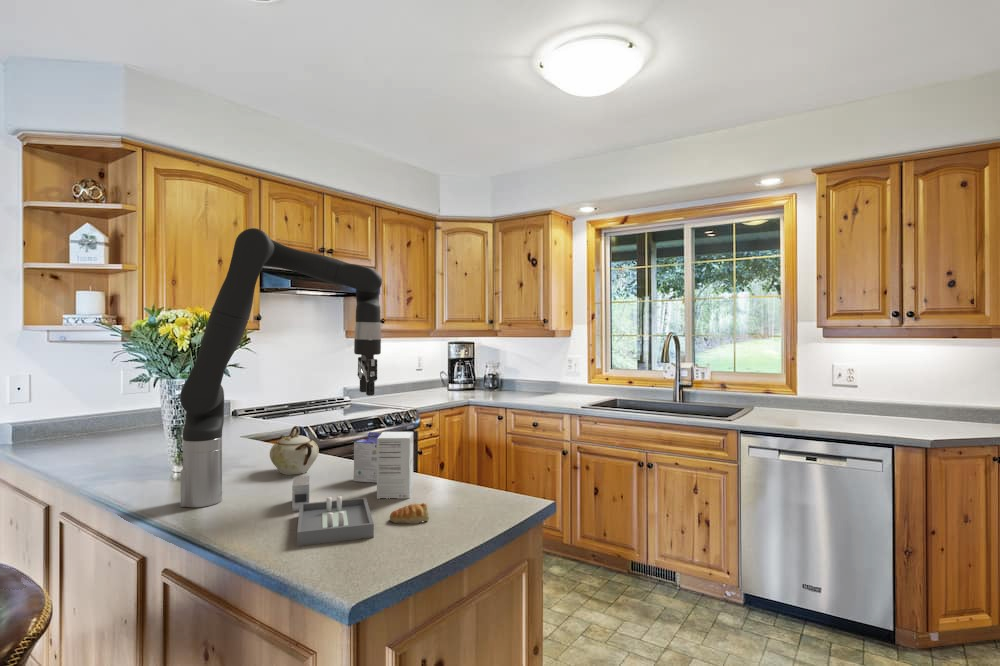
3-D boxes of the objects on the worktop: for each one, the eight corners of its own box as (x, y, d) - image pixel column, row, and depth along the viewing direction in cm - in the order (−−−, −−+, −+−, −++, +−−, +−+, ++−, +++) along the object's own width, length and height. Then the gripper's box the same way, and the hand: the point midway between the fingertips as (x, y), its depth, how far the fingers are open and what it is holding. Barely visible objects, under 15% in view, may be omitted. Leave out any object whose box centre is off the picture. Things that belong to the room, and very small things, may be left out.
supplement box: (381, 489, 157) (381, 431, 157) (413, 488, 158) (413, 431, 158) (376, 499, 148) (376, 437, 148) (410, 498, 148) (410, 437, 148)
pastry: (391, 527, 127) (391, 511, 127) (387, 518, 134) (387, 502, 134) (430, 522, 131) (430, 507, 131) (425, 514, 137) (425, 499, 137)
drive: (292, 511, 138) (292, 486, 138) (293, 500, 147) (293, 476, 147) (308, 510, 139) (308, 485, 139) (309, 499, 148) (309, 475, 148)
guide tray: (297, 546, 116) (297, 522, 116) (300, 515, 135) (300, 495, 134) (373, 537, 121) (373, 514, 121) (366, 509, 140) (366, 489, 140)
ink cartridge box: (390, 478, 168) (390, 432, 168) (383, 483, 163) (383, 435, 163) (361, 477, 170) (361, 431, 170) (353, 481, 165) (353, 434, 165)
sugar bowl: (331, 472, 175) (331, 426, 175) (287, 482, 164) (287, 432, 164) (300, 462, 188) (300, 419, 188) (257, 471, 177) (258, 425, 177)
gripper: (349, 337, 162) (348, 391, 162) (360, 338, 149) (359, 397, 149) (374, 337, 166) (373, 390, 166) (386, 338, 153) (385, 396, 153)
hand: (366, 393), depth 158 cm, fingers open, 8 cm apart
